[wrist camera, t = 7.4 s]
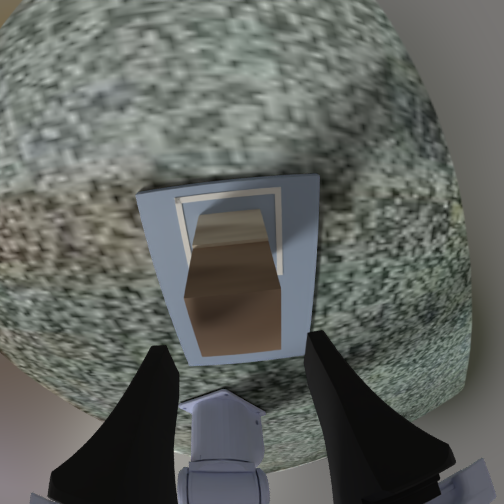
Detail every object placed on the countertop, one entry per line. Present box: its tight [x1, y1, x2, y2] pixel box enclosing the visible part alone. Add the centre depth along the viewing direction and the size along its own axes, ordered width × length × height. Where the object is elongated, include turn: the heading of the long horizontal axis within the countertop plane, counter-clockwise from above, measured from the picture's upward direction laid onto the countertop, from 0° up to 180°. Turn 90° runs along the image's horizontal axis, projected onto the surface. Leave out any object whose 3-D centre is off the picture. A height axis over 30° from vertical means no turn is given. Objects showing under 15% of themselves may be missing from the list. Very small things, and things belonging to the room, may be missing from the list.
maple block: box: [192, 209, 268, 249], centre depth 17 cm, size 4×4×4 cm
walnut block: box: [184, 241, 281, 357], centre depth 14 cm, size 4×4×4 cm
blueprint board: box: [136, 173, 320, 366], centre depth 22 cm, size 18×12×1 cm, turn 4°
